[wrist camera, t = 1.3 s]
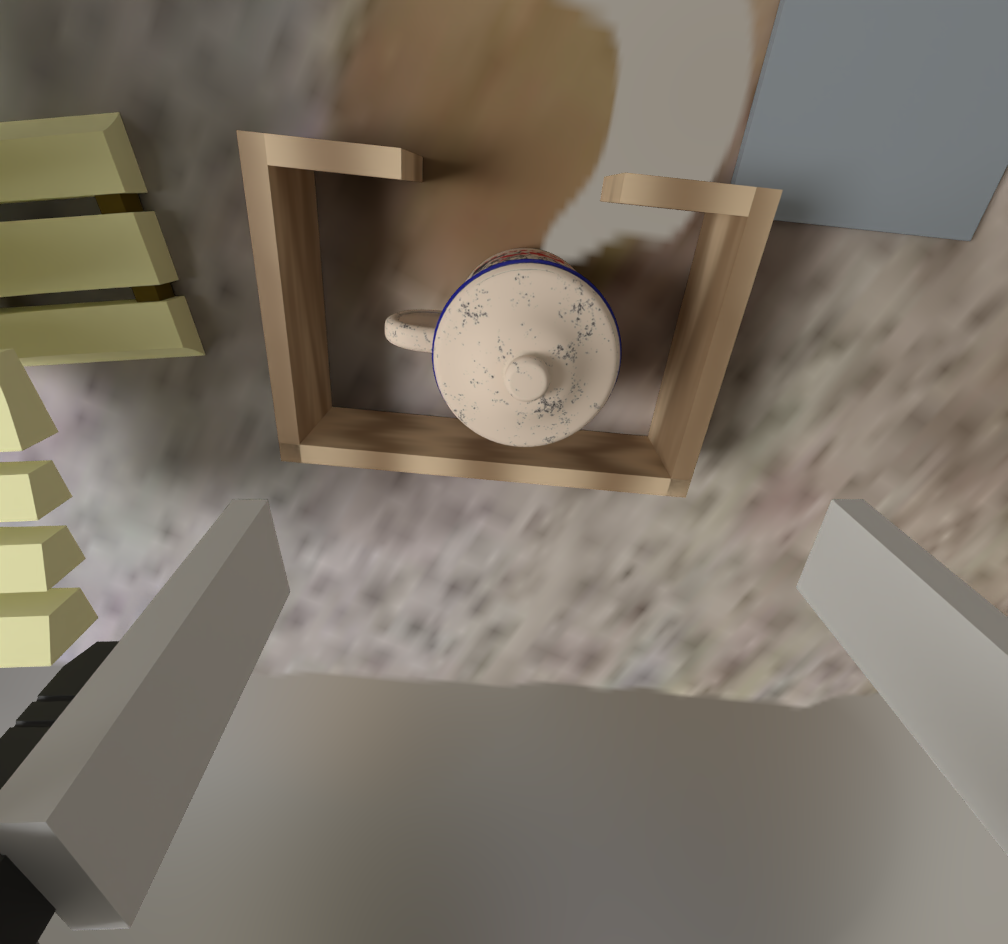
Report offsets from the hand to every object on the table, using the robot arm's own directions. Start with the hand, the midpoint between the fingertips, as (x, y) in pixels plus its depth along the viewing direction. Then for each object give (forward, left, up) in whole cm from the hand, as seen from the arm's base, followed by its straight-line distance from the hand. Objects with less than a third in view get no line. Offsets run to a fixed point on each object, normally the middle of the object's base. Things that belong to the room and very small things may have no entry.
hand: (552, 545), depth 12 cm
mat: (-17, -14, -23) cm, 32 cm away
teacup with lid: (+2, 0, -23) cm, 23 cm away
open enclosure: (+2, 0, -23) cm, 23 cm away
